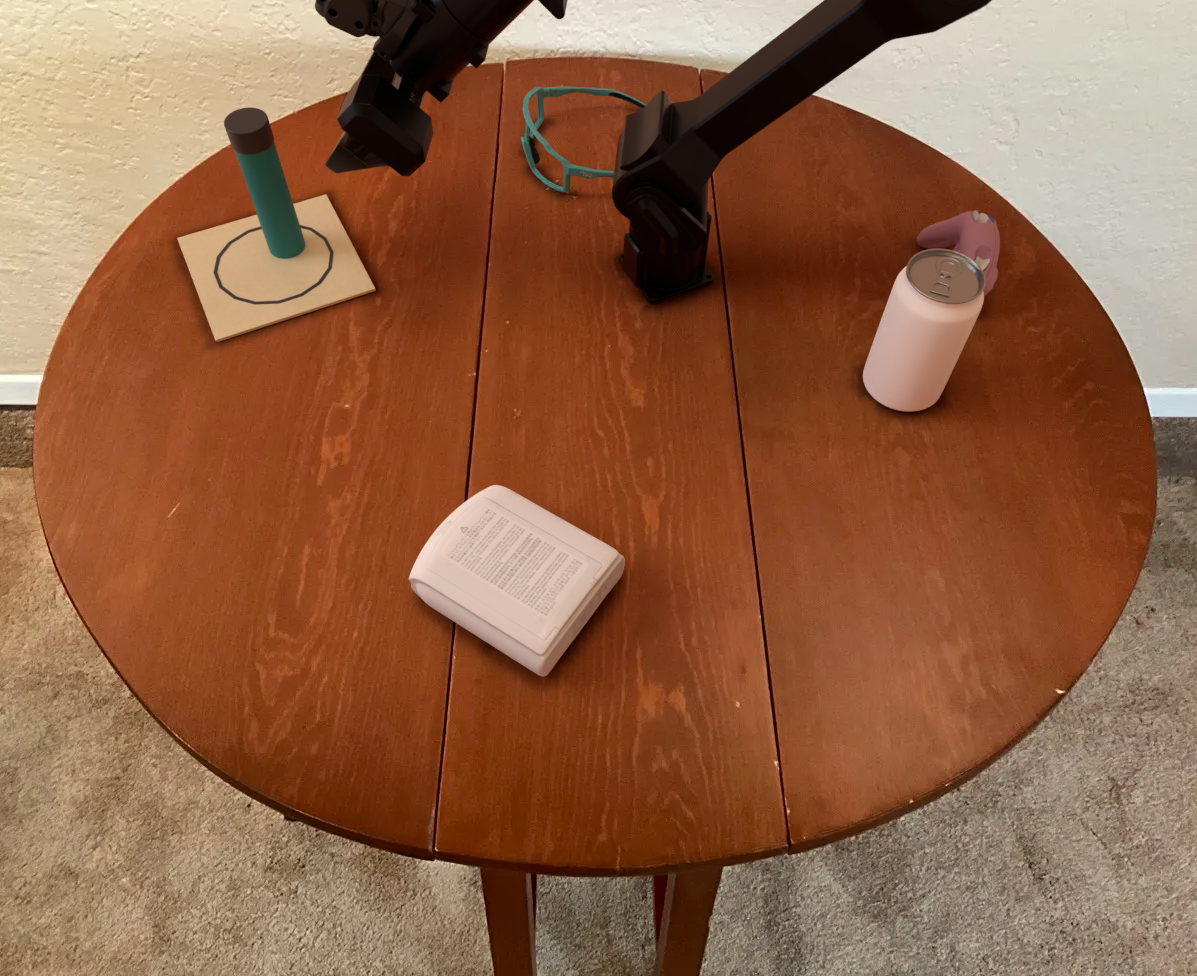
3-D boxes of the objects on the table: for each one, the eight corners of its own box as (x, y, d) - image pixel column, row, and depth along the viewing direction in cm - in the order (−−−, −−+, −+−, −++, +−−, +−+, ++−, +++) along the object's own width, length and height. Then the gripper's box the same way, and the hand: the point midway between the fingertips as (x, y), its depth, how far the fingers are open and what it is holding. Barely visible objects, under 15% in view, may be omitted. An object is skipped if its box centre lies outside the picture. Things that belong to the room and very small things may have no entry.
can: (949, 370, 80) (1000, 260, 70) (930, 425, 77) (981, 318, 67) (873, 345, 81) (913, 234, 72) (851, 398, 78) (889, 289, 68)
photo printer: (626, 575, 69) (486, 497, 72) (628, 543, 65) (481, 463, 69) (544, 689, 64) (398, 599, 67) (541, 662, 60) (388, 568, 64)
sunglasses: (506, 119, 98) (508, 73, 94) (646, 112, 102) (653, 68, 98) (534, 207, 91) (537, 162, 87) (684, 197, 94) (694, 153, 90)
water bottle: (304, 259, 86) (264, 132, 75) (265, 260, 86) (220, 133, 75) (308, 233, 88) (270, 106, 77) (271, 234, 88) (227, 107, 77)
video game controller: (950, 334, 84) (1013, 286, 79) (909, 310, 83) (970, 260, 78) (950, 258, 90) (1009, 208, 84) (912, 234, 89) (969, 182, 83)
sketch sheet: (326, 196, 91) (326, 193, 91) (375, 290, 84) (375, 287, 84) (178, 240, 88) (176, 237, 88) (216, 342, 81) (215, 339, 81)
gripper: (400, -152, 68) (285, -6, 78) (339, -12, 58) (216, 137, 67) (517, -33, 74) (398, 89, 84) (482, 113, 64) (350, 233, 73)
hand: (344, 131), depth 77 cm, fingers open, 9 cm apart
